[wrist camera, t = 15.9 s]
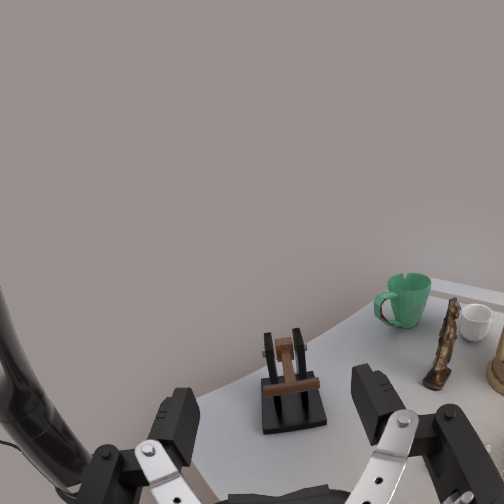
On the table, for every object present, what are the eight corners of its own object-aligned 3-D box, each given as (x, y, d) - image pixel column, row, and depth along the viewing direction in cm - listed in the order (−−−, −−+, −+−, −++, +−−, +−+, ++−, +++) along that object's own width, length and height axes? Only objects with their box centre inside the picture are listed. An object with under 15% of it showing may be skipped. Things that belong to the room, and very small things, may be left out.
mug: (407, 308, 58) (408, 269, 55) (435, 322, 48) (439, 280, 46) (361, 329, 54) (361, 287, 52) (389, 349, 45) (392, 303, 43)
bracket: (326, 425, 32) (326, 358, 29) (263, 434, 32) (248, 370, 29) (313, 376, 43) (308, 313, 40) (262, 384, 44) (250, 322, 41)
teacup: (493, 341, 34) (500, 318, 33) (464, 349, 37) (470, 325, 35) (475, 318, 44) (479, 297, 42) (449, 324, 46) (452, 302, 45)
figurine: (435, 398, 29) (456, 314, 26) (415, 390, 33) (431, 308, 29) (452, 371, 33) (469, 291, 30) (434, 365, 36) (447, 287, 33)
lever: (320, 395, 24) (319, 375, 24) (265, 404, 24) (261, 384, 24) (303, 350, 37) (302, 334, 36) (265, 356, 37) (263, 340, 37)
